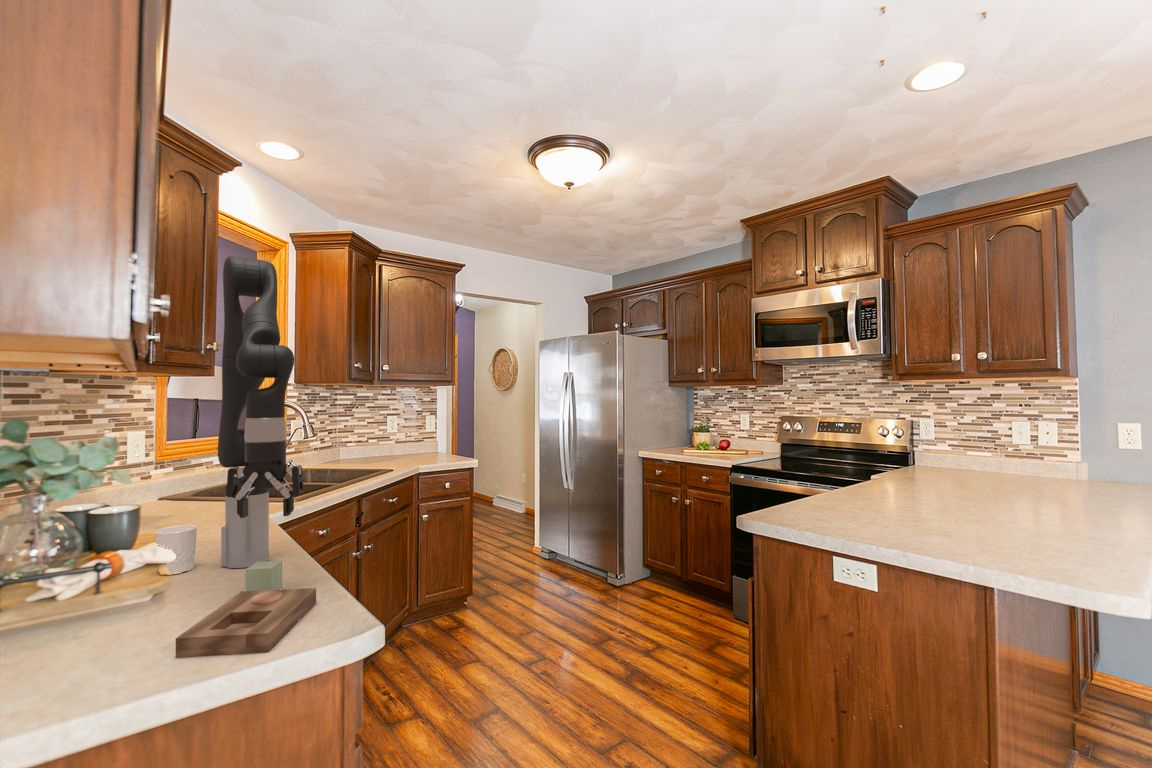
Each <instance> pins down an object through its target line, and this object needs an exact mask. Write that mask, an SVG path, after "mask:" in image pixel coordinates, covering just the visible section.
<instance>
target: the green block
mask: <svg viewBox="0 0 1152 768" xmlns="http://www.w3.org/2000/svg"><path fill="white" fill-rule="evenodd" d="M244 580H245V583H244V584H245V585H244V586H245V589H244V591H262V590H280V589H281V590H282V589H283V560H270V561H269V560H268V561H262V562H256V563H255V564H253V565H252V566H250V567H246V568H245V579H244Z"/></svg>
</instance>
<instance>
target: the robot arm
mask: <svg viewBox="0 0 1152 768" xmlns="http://www.w3.org/2000/svg"><path fill="white" fill-rule="evenodd" d="M222 286H223V287H222V288H223V290H222V291H223V313H224V314H223V315H224V316H223V317H224V319H223V321H224V322H223V323H224V324H223V325H224V326H223V343H222V353H221V354H222V357H221V358H222V359H221V360H222V361H221V389H222V390H221V393H222V394H221V411H220V420H219V430H218V440H217V458H218V462H219V464H220V466H222V467H223V468H227V469H228V470H227V479H226V485H225V487H224V488H225V489H224V490H225V491H224V493H225V494H224V495H225V497H224V499H225V502H224V503H225V505H224V506H225V514H224V515H225V517H224V518H225V520H224V521H225V524H224V526H222V527H221V529H220V530H221V532H220V535H221V537H220V538H221V540H220V542H221V544H220V547H221V548H220V550H221V552H220V554H221V555H220V557H221V558H220V559H221V561H220V563H221V565H220V567H221V568H229V569H242V568H243V569H244V568H245V569H246V568H248V567H250V566H252V565H253V564H255V563H256V562H262V561H269V558H270V511H269V510H270V506H269V505H270V503H269V502H270V501H269V500H270V498H269V497H270V495H269V493H270V489H272V488H275V490H277V492H279V493H280V495H282V496H283V497H284V498H283V499H282V501H283V502H282V503H283V504H282V505H283V506H282V509H283V511H282V515H283V517H289V516H291V514H292V513H293V512H294V510H295V505H294V504H295V503H294V501H295V499H294V498H295V496H298V495H300V494H302V493H304V491H305V490H304V478H303V466H302V465H300V464H299V465H296V466H287V427H286V426H287V424H286V419H285V417H286V416H285V414H286V412H285V411H286V410H285V409H286V407H285V405H286V392H287V388H288V385H289V384H288V383H289V381H290V378H291V374H292V372H293V370H294V369H293V368H294V366H295V355H294V353H293V351H292V349H290V348H289V346H287V345H280V343H281V333H280V328H279V323H278V316H277V315H278V313H277V311H278V274H277V270H276V267H275V265H274V264H273V263H271V262H269V261H267V260H262V259H255V258H249V257H241V256H232V255H231V256H227V257H226V258H225V260H224V264H223V269H222ZM240 296H243V297H250V298H251V297H252V298H258V299H256V301H254V302H252V303H251V304H250V305H249V306H248V307H247V308H246V309H245V310H244V311H243V308H242V306H241V305H242V304H241V302H240ZM265 378H266V379H267V378H268V379H274V381H273V382H272V384H271V385H269V386H267V387H263V388H260V387H261V386H262V384H263V383H264V381H265ZM245 408H246V409H245ZM244 409H245V412H246V413H245V416H246V418H245V425H244V428H240V429H238V428H239V422H240V420H241V417H242V414H243V411H244ZM287 474H288V475H289V477H291V479H292V481H291V483H292V487H291V486H290V483H289V482H288V480H287V479H286V478H285V477H286V475H287Z"/></svg>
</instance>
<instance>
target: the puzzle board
mask: <svg viewBox="0 0 1152 768" xmlns="http://www.w3.org/2000/svg"><path fill="white" fill-rule="evenodd" d="M316 604H317V587H305V588H286V589H285V588H282V589H281V590H262V591H245V590H244V591H240V592H239V593H238V594H236V595H234V597H232V598H230V599H229V600H228V601H226V602H225V603H224V604H222V605H220V606H219V607H218V608H217V609H215V610H213V611H212V612H211V613H209V614H207V615H206V616H205V617H204V618H202V619H200V621H198V622H197V623H195V624H194V625H192V626H191V627H190V628H188V629H187V630H185V631H183V633H181V634H179V635H178V636H177V637H175V658H189V657H203V656H206V657H207V656H219V655H235V654H236V655H238V654H239V655H240V654H253V653H254V654H255V653H268V652H270V651H271V650H272V649H273V648H274V647H275V646H276V645H277V644H278V643H279V642H280V641H281V640H280V639H281V638H282V637H283V636H284V635H285V636H286V635H287V634H288V632H290V630H291V629H292V628H293V627H295V625H296V624H297V623H298V622H299V621H300V620H301V619H302V618H303V617H304V616H305V615H306V614H307V613H308V612H309V611H310V610H311V609H312V608H314V606H315V605H316ZM304 614H305V615H304ZM300 618H301V619H300ZM299 619H300V620H299ZM298 620H299V621H298ZM294 624H295V625H294ZM291 627H292V628H291ZM285 636H284V637H285ZM282 639H283V638H282ZM279 640H280V641H279ZM278 641H279V642H278ZM277 642H278V643H277Z"/></svg>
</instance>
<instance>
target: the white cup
mask: <svg viewBox="0 0 1152 768" xmlns="http://www.w3.org/2000/svg"><path fill="white" fill-rule="evenodd" d="M197 530H198V525H195V524H182V525H181V524H180V525H174V526H168V527H163V528H160V529H157V530H156V531H155V545H156V544H159V545H157V546H159V547H163V545H164V547H163V548H165V549H168V550H169V549H171V550H172V551H173V552H174V553H175V554H176V559H175V560H174V561H172V562H170V563H167V564H166V565H165V566H166V567H167V568H168V570H169V571H170V573H174V572H184V571H188V570H190V571H192V570H193V569H194V568H195V557H196V549H197V534H198V532H197ZM160 545H161V546H160ZM167 547H168V548H167ZM191 569H192V570H191ZM188 572H189V571H188Z"/></svg>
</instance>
